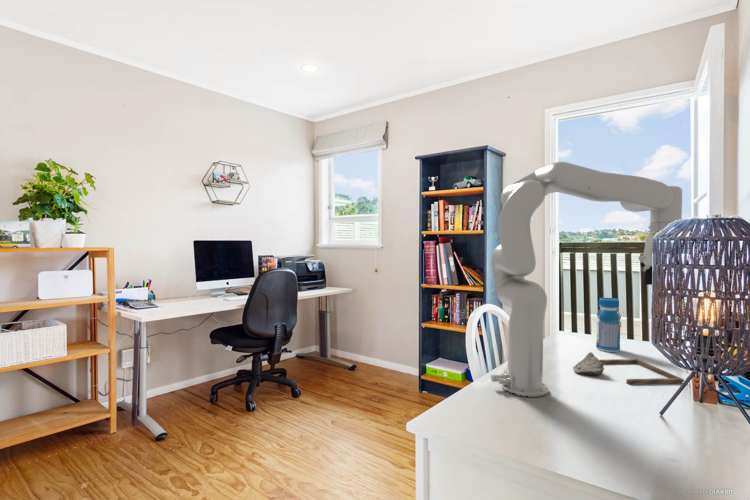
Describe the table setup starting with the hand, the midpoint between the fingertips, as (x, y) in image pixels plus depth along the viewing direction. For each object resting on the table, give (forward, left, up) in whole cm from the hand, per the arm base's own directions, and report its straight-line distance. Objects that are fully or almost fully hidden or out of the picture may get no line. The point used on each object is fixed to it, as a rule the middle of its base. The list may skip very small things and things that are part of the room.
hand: (663, 286), depth 121 cm
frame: (-1, +11, -30) cm, 32 cm away
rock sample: (-16, +11, -30) cm, 36 cm away
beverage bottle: (+8, +37, -30) cm, 48 cm away
